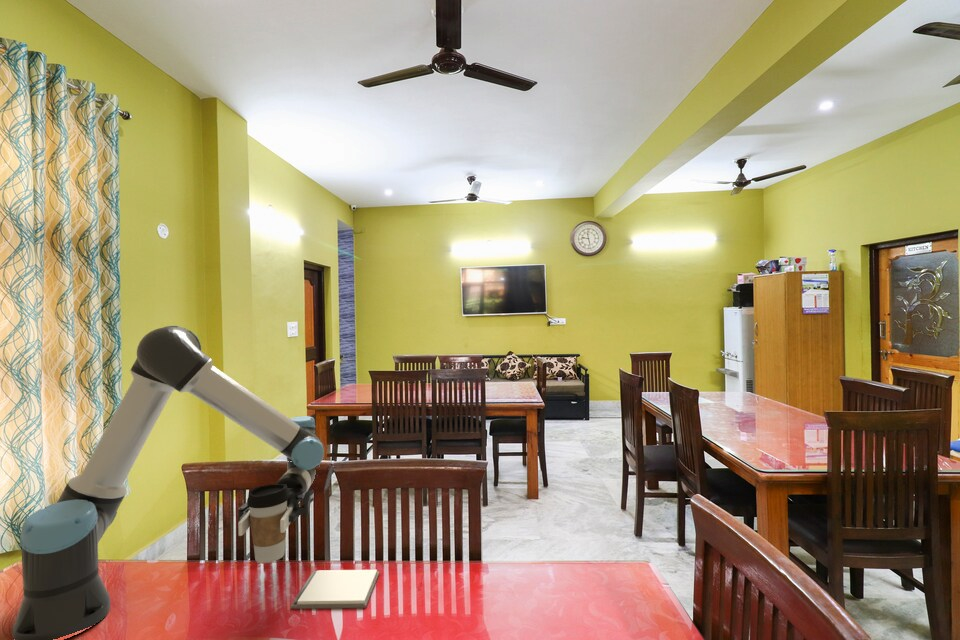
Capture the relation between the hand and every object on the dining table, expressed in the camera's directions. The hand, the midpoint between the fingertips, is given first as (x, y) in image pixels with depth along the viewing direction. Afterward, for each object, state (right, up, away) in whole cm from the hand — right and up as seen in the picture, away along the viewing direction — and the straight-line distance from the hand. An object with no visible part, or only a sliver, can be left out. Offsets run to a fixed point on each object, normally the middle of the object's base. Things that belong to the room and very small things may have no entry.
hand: (261, 527), depth 99 cm
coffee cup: (0, -9, +5) cm, 10 cm away
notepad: (+13, -18, +9) cm, 24 cm away
